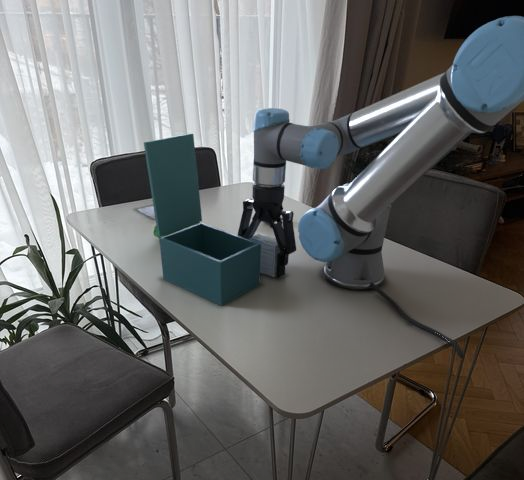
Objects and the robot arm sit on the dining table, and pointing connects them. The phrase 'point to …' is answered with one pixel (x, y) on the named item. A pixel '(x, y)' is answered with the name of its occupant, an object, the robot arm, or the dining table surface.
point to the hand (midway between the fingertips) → (264, 269)
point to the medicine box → (267, 254)
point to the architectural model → (148, 211)
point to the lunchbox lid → (173, 182)
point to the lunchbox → (211, 262)
